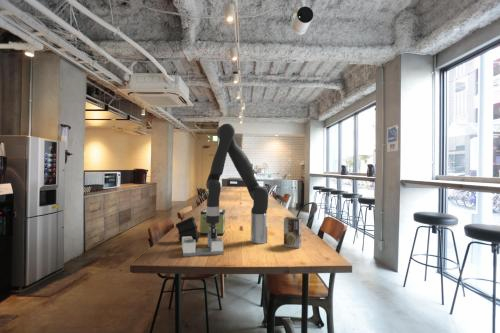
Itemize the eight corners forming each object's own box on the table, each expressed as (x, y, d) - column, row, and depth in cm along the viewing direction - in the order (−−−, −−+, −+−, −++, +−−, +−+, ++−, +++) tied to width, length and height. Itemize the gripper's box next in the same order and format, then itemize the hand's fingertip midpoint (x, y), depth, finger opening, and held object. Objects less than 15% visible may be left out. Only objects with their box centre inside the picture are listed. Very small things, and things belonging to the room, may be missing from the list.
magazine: (201, 240, 152) (191, 217, 153) (182, 249, 154) (172, 225, 155) (203, 239, 156) (193, 215, 157) (184, 247, 158) (174, 224, 159)
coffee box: (301, 245, 151) (302, 217, 151) (299, 248, 145) (299, 219, 145) (286, 243, 155) (286, 216, 155) (283, 246, 149) (283, 218, 149)
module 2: (216, 244, 151) (216, 232, 151) (217, 246, 146) (217, 234, 146) (207, 244, 150) (207, 233, 150) (208, 247, 145) (208, 235, 145)
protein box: (223, 235, 171) (223, 212, 171) (199, 235, 171) (200, 211, 171) (225, 231, 181) (225, 209, 181) (202, 231, 181) (203, 209, 181)
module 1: (190, 246, 146) (191, 236, 146) (192, 249, 142) (192, 237, 142) (181, 247, 144) (181, 237, 144) (183, 250, 140) (183, 238, 140)
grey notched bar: (221, 249, 141) (221, 237, 141) (223, 254, 134) (223, 241, 134) (183, 252, 136) (183, 239, 136) (183, 256, 129) (183, 243, 129)
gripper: (221, 216, 142) (220, 247, 142) (217, 212, 156) (217, 240, 156) (207, 216, 140) (206, 248, 140) (205, 212, 154) (204, 241, 154)
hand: (212, 244), depth 148 cm, fingers closed on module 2, 4 cm apart
